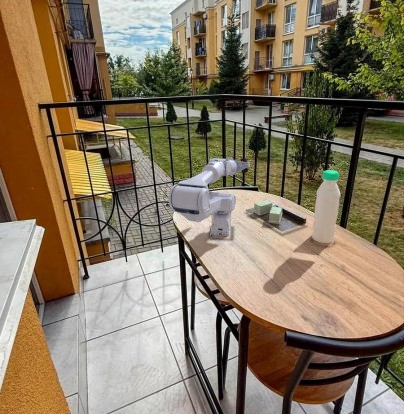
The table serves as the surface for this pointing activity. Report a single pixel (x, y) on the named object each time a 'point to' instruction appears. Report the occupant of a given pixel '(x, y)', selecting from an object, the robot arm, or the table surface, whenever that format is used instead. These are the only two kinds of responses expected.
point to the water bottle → (326, 208)
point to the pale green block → (275, 215)
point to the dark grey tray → (282, 219)
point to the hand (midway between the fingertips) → (236, 167)
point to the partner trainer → (263, 207)
